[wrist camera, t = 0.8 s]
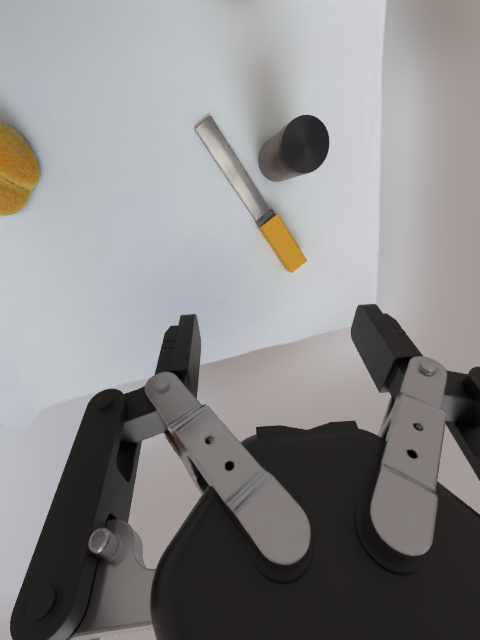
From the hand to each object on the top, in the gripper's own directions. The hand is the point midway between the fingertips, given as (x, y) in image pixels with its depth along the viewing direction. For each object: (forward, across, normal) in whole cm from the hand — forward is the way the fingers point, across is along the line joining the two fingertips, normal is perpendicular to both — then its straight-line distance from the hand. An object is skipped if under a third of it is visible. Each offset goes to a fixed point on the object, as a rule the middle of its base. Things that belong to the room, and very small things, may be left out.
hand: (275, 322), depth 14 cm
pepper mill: (+27, -4, -2) cm, 28 cm away
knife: (+26, -1, +2) cm, 26 cm away
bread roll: (+24, +26, -4) cm, 36 cm away
